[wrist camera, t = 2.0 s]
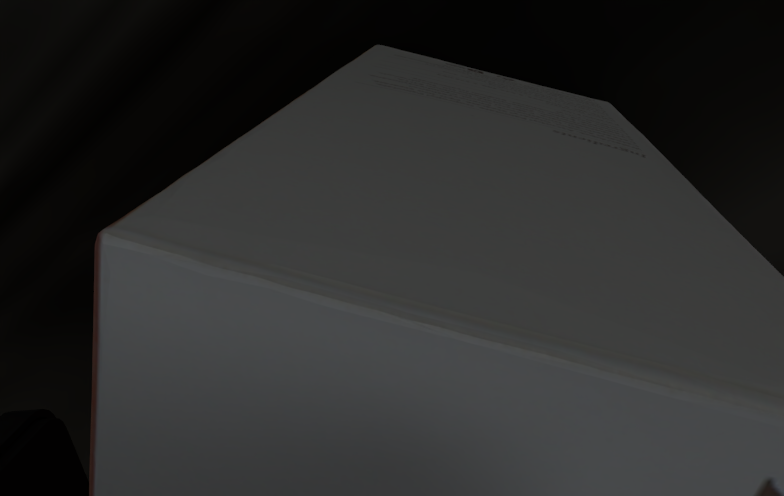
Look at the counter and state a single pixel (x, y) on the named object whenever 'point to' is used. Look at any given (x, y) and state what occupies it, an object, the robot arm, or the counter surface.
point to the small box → (435, 307)
